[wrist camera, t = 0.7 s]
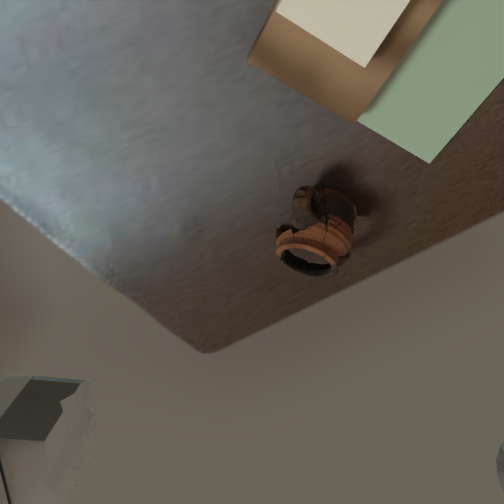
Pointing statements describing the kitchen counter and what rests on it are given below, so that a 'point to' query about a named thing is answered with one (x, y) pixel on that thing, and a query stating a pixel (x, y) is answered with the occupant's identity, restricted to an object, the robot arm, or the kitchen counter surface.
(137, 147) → the kitchen counter surface
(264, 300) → the kitchen counter surface
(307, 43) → the board
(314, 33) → the cream rectangular block
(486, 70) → the mat
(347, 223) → the pottery mug
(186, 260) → the kitchen counter surface
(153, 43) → the kitchen counter surface
